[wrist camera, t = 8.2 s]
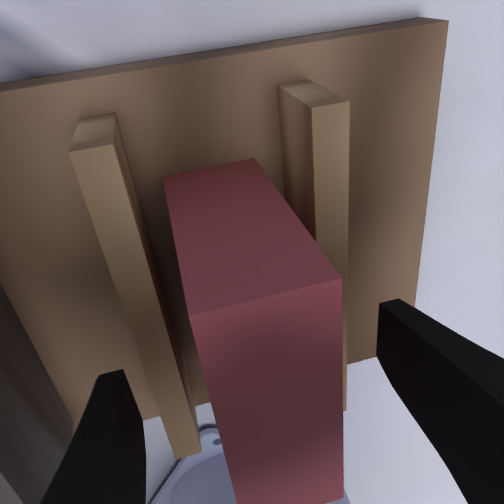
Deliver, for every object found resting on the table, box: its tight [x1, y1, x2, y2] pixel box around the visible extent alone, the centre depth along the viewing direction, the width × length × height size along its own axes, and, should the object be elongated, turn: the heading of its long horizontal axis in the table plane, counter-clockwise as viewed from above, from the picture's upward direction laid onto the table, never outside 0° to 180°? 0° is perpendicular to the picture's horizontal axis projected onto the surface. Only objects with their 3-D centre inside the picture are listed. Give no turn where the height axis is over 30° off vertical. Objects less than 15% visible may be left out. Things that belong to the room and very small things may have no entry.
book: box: [162, 158, 344, 504], centre depth 13 cm, size 3×8×7 cm, turn 6°
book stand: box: [0, 17, 449, 504], centre depth 15 cm, size 18×14×6 cm
